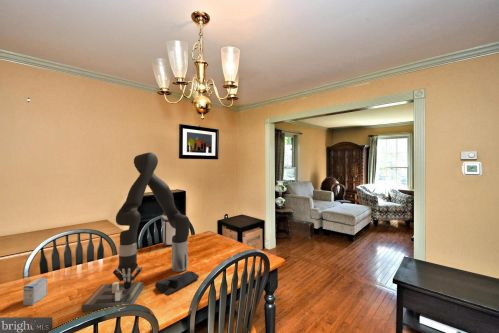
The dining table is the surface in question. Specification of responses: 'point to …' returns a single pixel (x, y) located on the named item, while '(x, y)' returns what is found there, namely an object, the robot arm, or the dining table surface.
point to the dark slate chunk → (176, 282)
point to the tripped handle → (115, 287)
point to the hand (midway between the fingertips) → (127, 288)
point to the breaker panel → (112, 296)
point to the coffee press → (167, 231)
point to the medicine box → (34, 291)
